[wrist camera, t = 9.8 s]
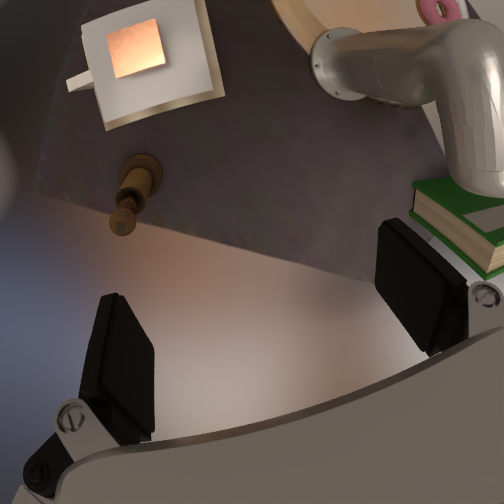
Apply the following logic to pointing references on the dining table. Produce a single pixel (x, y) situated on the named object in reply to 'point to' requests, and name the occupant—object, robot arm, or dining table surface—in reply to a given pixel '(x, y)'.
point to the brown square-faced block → (136, 49)
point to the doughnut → (430, 15)
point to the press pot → (153, 81)
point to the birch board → (215, 93)
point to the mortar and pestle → (134, 191)
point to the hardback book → (463, 223)
